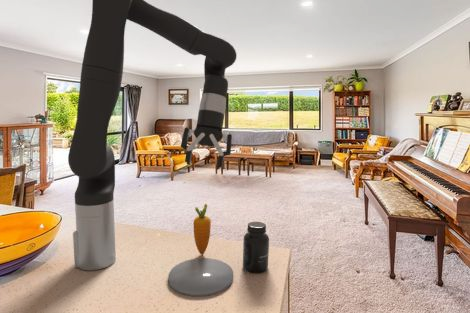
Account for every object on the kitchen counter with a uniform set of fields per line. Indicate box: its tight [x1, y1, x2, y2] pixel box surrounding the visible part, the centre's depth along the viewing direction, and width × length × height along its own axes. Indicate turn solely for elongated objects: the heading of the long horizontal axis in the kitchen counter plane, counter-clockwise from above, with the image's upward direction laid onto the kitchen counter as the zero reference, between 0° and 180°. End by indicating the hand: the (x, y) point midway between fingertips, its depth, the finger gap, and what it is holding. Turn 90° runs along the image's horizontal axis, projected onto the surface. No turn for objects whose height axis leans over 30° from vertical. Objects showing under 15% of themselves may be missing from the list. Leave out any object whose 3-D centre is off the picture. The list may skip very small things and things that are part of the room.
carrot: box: [193, 203, 212, 256], centre depth 83 cm, size 5×5×15 cm
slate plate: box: [168, 257, 234, 297], centre depth 72 cm, size 16×16×1 cm
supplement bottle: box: [242, 221, 270, 274], centre depth 76 cm, size 7×7×12 cm
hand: (203, 167), depth 82 cm, fingers open, 8 cm apart
